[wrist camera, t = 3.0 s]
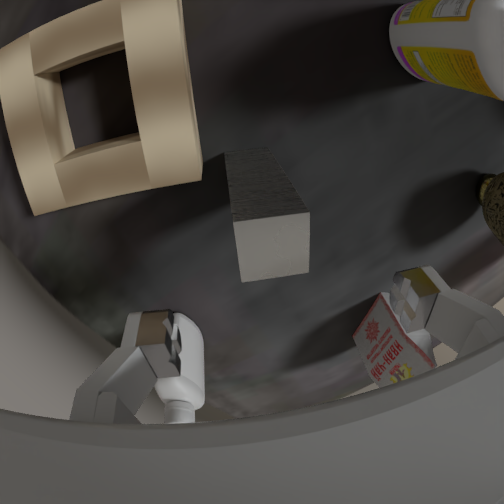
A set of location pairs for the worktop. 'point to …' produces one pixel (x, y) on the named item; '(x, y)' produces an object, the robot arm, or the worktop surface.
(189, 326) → the eye dropper bottle
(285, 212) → the metal peg
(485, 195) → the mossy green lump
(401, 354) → the white and red box
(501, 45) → the supplement bottle
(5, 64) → the tan square ring
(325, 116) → the worktop surface
